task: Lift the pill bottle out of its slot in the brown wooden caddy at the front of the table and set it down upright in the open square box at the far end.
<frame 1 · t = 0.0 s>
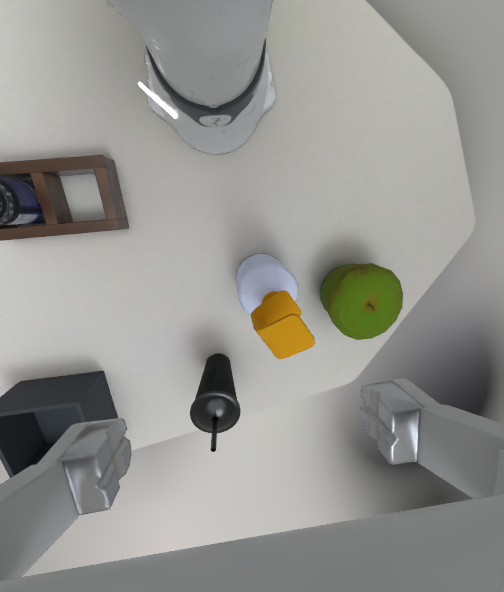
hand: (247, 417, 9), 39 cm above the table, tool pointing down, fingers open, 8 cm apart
soap bottle: (260, 277, 48), on the table
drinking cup: (218, 363, 52), on the table
brown wooden caddy: (61, 200, 41), on the table
apple: (342, 288, 50), on the table
open square box: (74, 408, 52), on the table
pill bottle: (33, 203, 40), resting in brown wooden caddy
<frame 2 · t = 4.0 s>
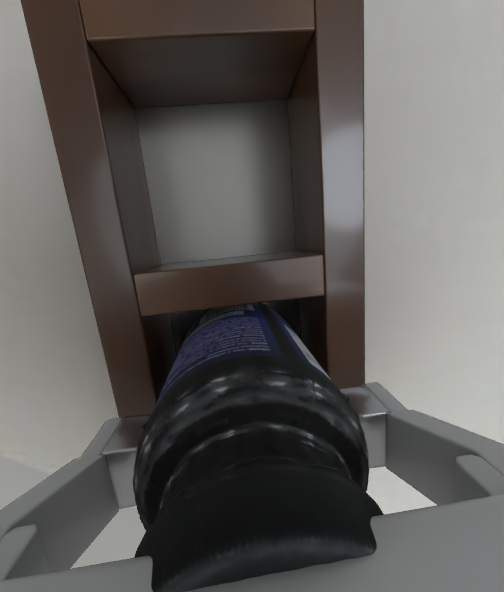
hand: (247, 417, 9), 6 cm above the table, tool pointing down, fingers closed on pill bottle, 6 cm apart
brown wooden caddy: (231, 272, 13), on the table
pill bottle: (240, 348, 14), resting in brown wooden caddy, touching gripper
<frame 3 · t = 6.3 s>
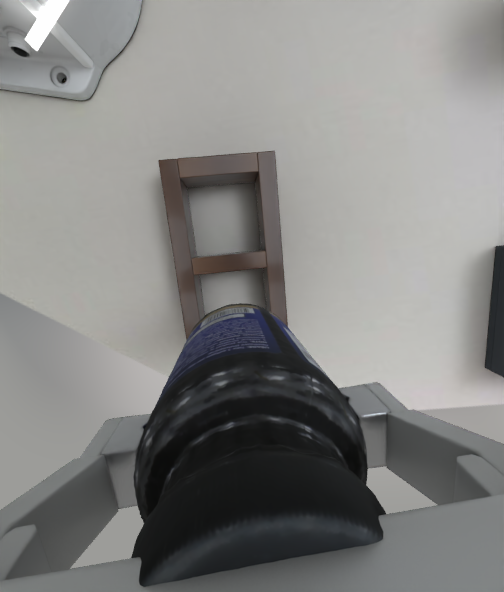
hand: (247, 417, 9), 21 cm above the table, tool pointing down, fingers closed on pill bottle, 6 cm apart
brown wooden caddy: (230, 260, 28), on the table
pill bottle: (241, 352, 15), point 15 cm above the table, touching gripper
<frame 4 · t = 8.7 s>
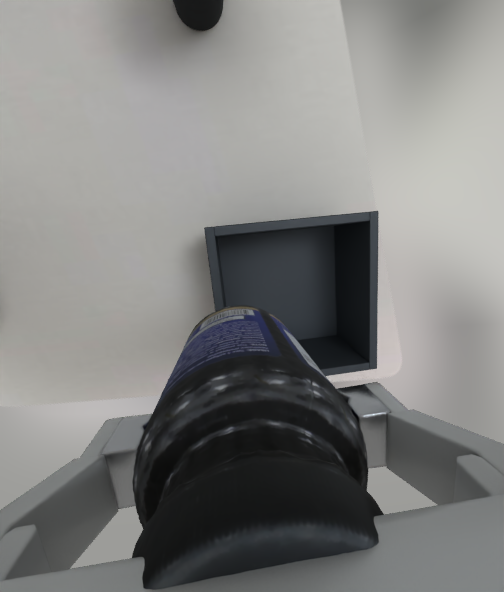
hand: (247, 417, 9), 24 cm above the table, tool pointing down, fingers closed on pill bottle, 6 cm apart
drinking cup: (199, 4, 26), on the table
open square box: (279, 288, 33), on the table
pill bottle: (240, 354, 15), point 18 cm above the table, touching gripper
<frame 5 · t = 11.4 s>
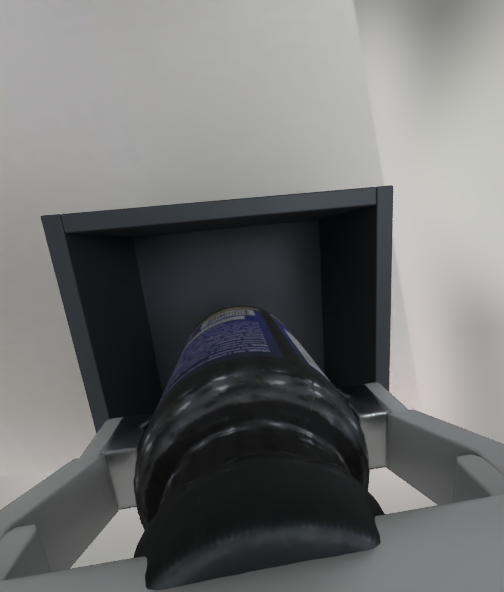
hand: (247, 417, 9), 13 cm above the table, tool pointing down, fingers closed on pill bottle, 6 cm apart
open square box: (237, 314, 21), on the table
pill bottle: (241, 354, 15), point 7 cm above the table, touching gripper
when the fingers open (6 cm above the table, at t = 13.6 s): pill bottle stays where it is, resting on open square box.
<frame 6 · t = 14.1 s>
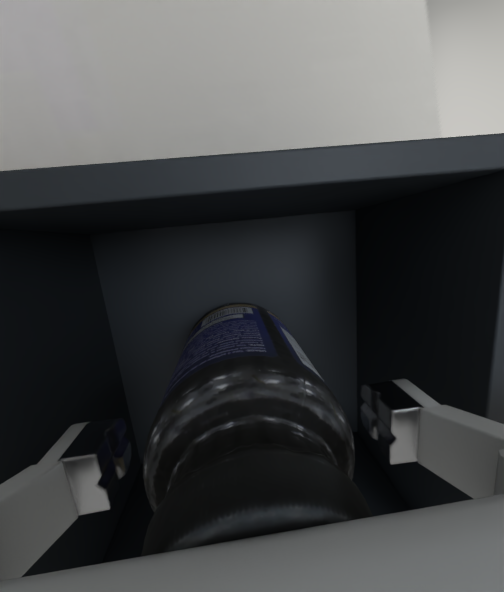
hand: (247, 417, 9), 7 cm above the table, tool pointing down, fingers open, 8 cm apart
open square box: (240, 340, 16), on the table
pill bottle: (240, 349, 15), point 1 cm above the table, touching open square box
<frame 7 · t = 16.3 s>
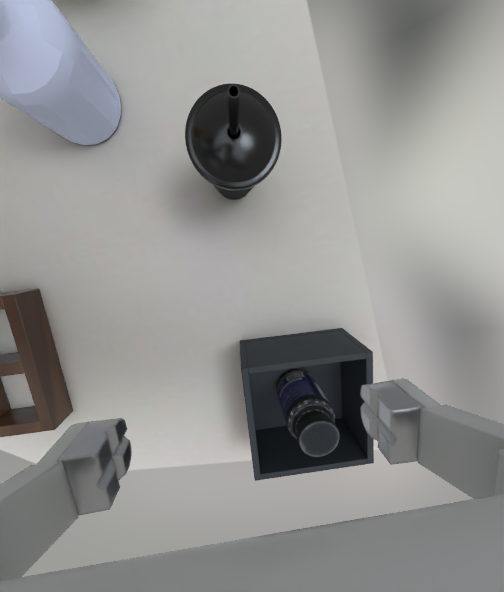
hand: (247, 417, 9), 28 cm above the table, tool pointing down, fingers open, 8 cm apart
soap bottle: (84, 106, 31), on the table
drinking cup: (234, 180, 34), on the table
brown wooden caddy: (20, 357, 36), on the table
open square box: (294, 381, 40), on the table
pill bottle: (295, 385, 39), point 1 cm above the table, touching open square box
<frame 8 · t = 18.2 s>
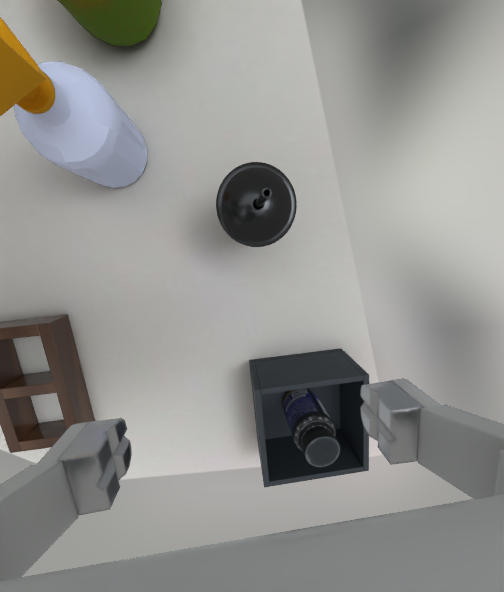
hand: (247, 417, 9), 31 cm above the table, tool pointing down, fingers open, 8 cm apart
soap bottle: (114, 153, 34), on the table
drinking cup: (246, 219, 38), on the table
brown wooden caddy: (48, 376, 40), on the table
apple: (120, 8, 31), on the table
open square box: (298, 395, 44), on the table
pill bottle: (299, 399, 44), point 1 cm above the table, touching open square box
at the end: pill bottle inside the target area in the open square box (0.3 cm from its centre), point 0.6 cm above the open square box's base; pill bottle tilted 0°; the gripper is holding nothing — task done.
